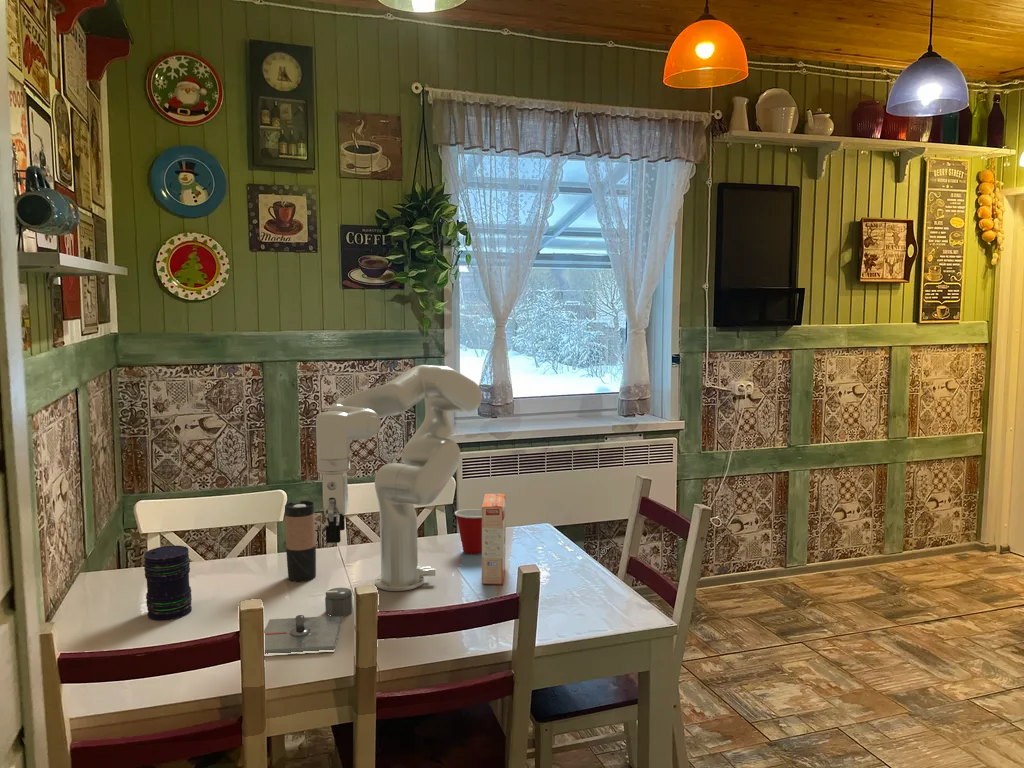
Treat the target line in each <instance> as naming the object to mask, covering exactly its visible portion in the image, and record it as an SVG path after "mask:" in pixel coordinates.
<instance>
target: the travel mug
mask: <svg viewBox="0 0 1024 768" xmlns="http://www.w3.org/2000/svg"><path fill="white" fill-rule="evenodd" d="M284 517H285V518H284V519H285V523H284V525H285V549H286V550H285V551H286V561H287V562H286V564H287V577H288V580H289V581H290V580H291V581H290V582H293V581H296V582H295V583H302V582H301V581H305V582H309V581H311V579H312V580H314V579H315V578H316V576H317V553H316V552H317V548H316V547H317V546H316V544H317V543H316V542H317V541H316V538H317V537H316V520H315V519H316V518H315V504H314V502H313V501H309V500H301V501H300V502H296V503H295V502H292V501H290V502H287V503H285V505H284ZM313 578H314V579H313ZM308 580H309V581H308Z"/></svg>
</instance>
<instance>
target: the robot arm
mask: <svg viewBox="0 0 1024 768" xmlns="http://www.w3.org/2000/svg"><path fill="white" fill-rule="evenodd" d="M482 399H483V394H482V390H481V388H480V386H479V385H478V383H476V382H475V381H474V380H473V379H470V378H468V377H467V376H465V375H464V374H462V373H461V372H459V371H457V370H455V369H453V368H451V367H450V366H444V365H430V364H429V365H428V364H419V365H416V366H413V367H412V368H410V369H408V370H407V371H404V372H403V373H401V374H400V375H398V376H397V377H395V378H393V379H392V380H390V381H389V382H387V383H384V384H381V385H378V386H374V387H372V388H369V389H365V390H362V391H359V392H356V393H354V394H351V395H348V396H346V397H345V398H343V399H341V400H339V401H337V402H336V403H335V404H333V405H332V406H331V407H330V408H329V409H328V410H327V411H322V412H320V413H318V414H317V416H316V418H315V432H316V433H315V434H316V435H315V436H316V437H315V438H316V465H317V466H316V468H317V469H316V470H317V473H319V474H322V477H321V478H322V504H323V513H324V515H325V516H326V520H325V521H326V523H325V524H326V525H325V542H326V544H336V543H340V542H341V531H344V530H346V529H345V527H346V526H345V525H346V523H345V521H346V520H345V515H346V513H347V512H348V509H349V491H348V489H349V488H348V475H347V474H348V472H350V471H351V449H350V448H351V447H350V446H351V445H350V444H351V443H350V442H351V441H358V440H359V441H360V440H363V441H365V440H369V439H370V440H371V439H372V438H373V437H375V436H376V435H377V434H378V433H379V432H380V429H381V426H382V421H381V418H382V417H391V416H397V415H401V414H403V413H405V412H406V411H408V410H409V409H410V408H412V407H413V406H415V405H416V404H418V403H420V402H421V401H423V400H424V407H425V408H424V409H425V410H424V411H425V414H424V415H425V416H424V419H423V422H422V423H421V425H420V426H419V427H418V429H417V430H416V431H415V433H414V434H413V435H412V437H411V438H409V440H408V441H407V442H406V444H405V446H404V447H403V449H402V452H401V457H400V458H401V462H402V463H399V462H397V463H396V462H395V463H394V462H391V463H387V464H384V465H382V466H381V467H380V468H379V469H378V470H377V472H376V474H375V477H374V489H375V493H376V498H377V501H378V510H379V535H380V536H379V538H380V539H379V541H380V543H379V545H380V571H381V572H380V574H379V575H378V576H377V577H376V578H375V586H376V587H377V589H381V590H383V591H388V592H403V591H411V590H414V589H418V588H419V587H421V586H422V585H423V584H424V583H425V577H436V568H431V566H422V565H420V561H419V558H418V555H419V554H418V549H419V548H418V516H417V512H416V509H415V506H414V505H416V506H417V505H418V506H427V505H430V504H432V503H433V502H435V501H436V499H437V498H439V495H440V494H441V492H443V490H444V489H445V487H446V486H447V485H448V483H449V482H450V480H451V479H452V478H453V476H454V474H455V473H456V471H457V469H458V468H459V465H460V461H461V449H460V446H459V445H458V443H457V442H455V441H454V440H452V439H450V438H451V436H452V434H453V426H452V423H451V420H450V416H449V412H457V413H472V412H475V411H476V410H478V408H479V407H480V406H481V403H482Z"/></svg>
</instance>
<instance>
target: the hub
mask: <svg viewBox="0 0 1024 768" xmlns="http://www.w3.org/2000/svg"><path fill="white" fill-rule="evenodd" d="M340 624H342V617H341V616H328V615H325V616H323V615H322V616H307V617H306V616H305V615H303V614H298V615H296V616H295V617H289V618H272V619H271V618H270V619H268V622H267V624H266V627H265V628H264V631H265V654H266V653H267V654H268V653H291V652H303V651H319V650H334V649H335V650H336V647H335V644H336V645H337V643H336V640H337V641H338V638H337V636H338V637H339V634H338V632H340V629H339V628H341V625H340Z"/></svg>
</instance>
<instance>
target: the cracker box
mask: <svg viewBox="0 0 1024 768" xmlns="http://www.w3.org/2000/svg"><path fill="white" fill-rule="evenodd" d="M481 510H482V553H481V585H503V584H504V577H505V570H506V535H507V534H506V528H507V527H506V526H507V525H506V524H507V523H506V520H507V519H506V514H507V513H506V494H505V493H485V494H484V497H483V502H482V506H481Z"/></svg>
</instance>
